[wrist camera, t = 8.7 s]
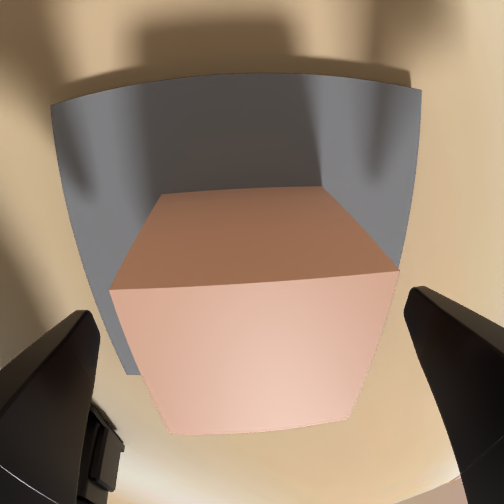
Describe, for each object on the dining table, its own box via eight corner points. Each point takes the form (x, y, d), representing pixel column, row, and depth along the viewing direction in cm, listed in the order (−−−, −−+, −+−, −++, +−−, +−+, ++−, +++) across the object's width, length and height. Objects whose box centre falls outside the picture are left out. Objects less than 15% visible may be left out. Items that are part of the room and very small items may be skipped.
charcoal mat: (129, 365, 13) (126, 374, 13) (59, 104, 8) (50, 105, 7) (368, 347, 14) (372, 356, 14) (412, 89, 8) (421, 89, 8)
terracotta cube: (182, 319, 11) (169, 434, 7) (161, 194, 9) (109, 290, 5) (311, 310, 12) (348, 418, 7) (321, 186, 9) (400, 270, 5)
